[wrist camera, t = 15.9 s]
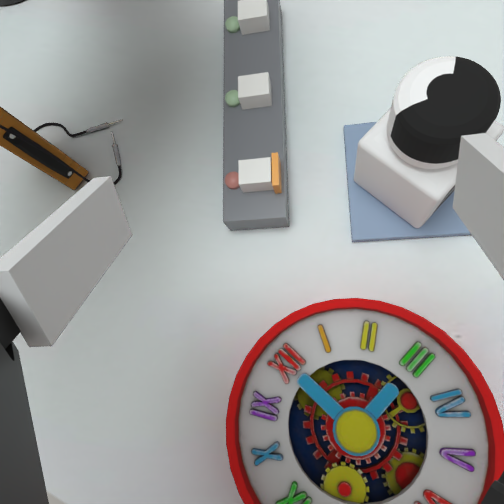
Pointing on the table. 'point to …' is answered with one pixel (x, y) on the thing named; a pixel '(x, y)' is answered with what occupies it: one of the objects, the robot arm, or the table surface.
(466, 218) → the robot arm
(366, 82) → the table surface
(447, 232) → the pad
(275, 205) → the breaker panel
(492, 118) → the container
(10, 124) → the multimeter
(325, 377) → the toy clock
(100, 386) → the table surface
